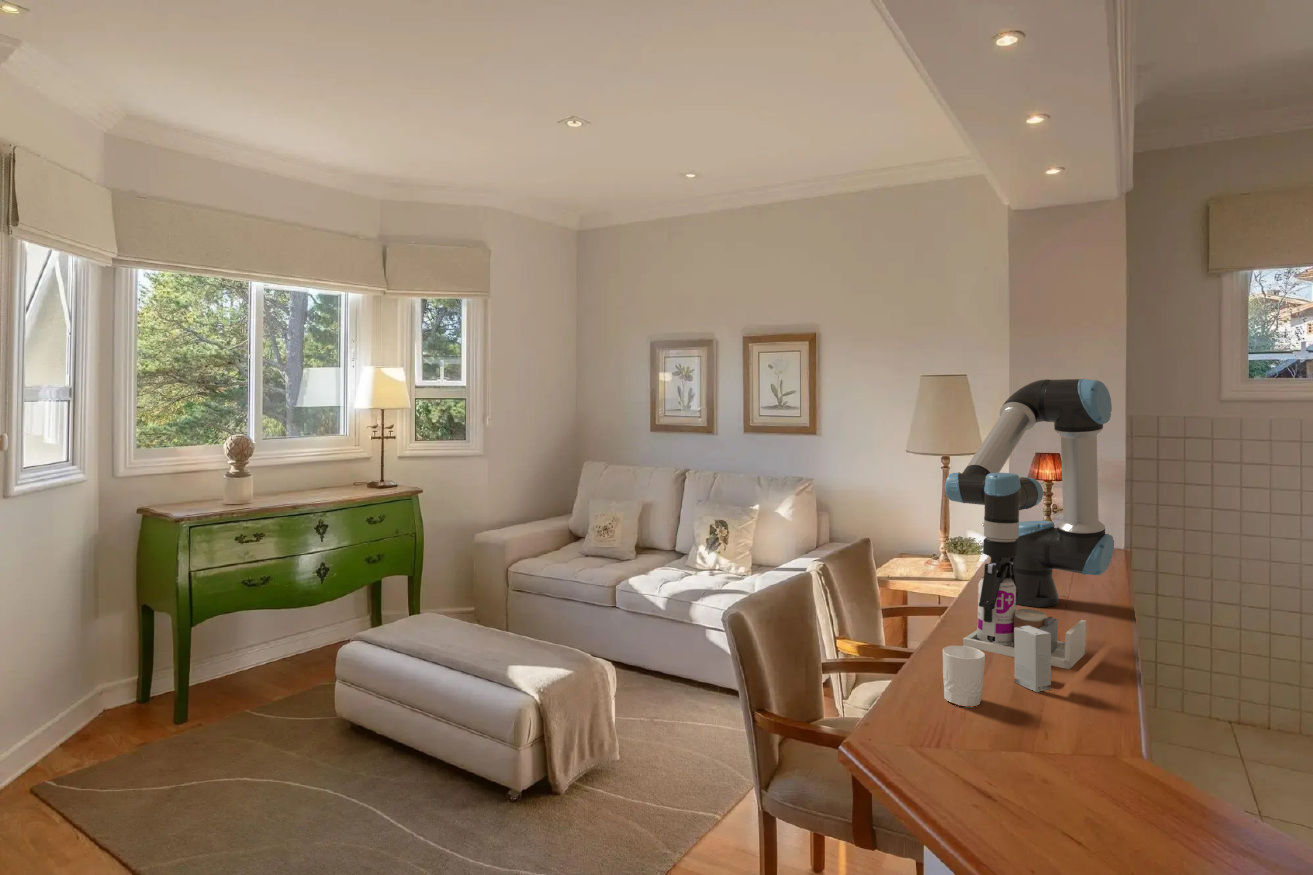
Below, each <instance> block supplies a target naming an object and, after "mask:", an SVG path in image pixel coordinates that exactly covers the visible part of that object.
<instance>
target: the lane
mask: <svg viewBox="0 0 1313 875" xmlns="http://www.w3.org/2000/svg"><path fill="white" fill-rule="evenodd" d="M1064 635H1065V636H1064V637H1065V639H1064V641H1060V640H1057V649H1056V650H1055V651H1053V652H1052V653H1051V667H1057V668H1062V669H1066V670H1071V668H1073V666H1075V665H1076V663H1078V662H1079V660H1080V659H1082V658H1083V657H1084V656H1085V655H1086V640H1087V637H1086V636H1087V620H1084V619H1081V620H1080V621H1078V622H1077V623H1076V624H1074V626H1072V627H1071V628H1070V629H1068V631H1066V632H1065V634H1064ZM962 646H967V647H972V648H976V649H978V650H981V651H985V652H989V653H992V654H998V655H1002V656H1006V657H1012V658H1015V648H1013V643H1012V644H1011V645H1008V646H1003V645H998V644H993V643H988V642H984V641H980V639H979V638H978V637H977V629H976V630H974V631H972V632H971V633H970V634H968V635H966V636H965V637H963V639H962Z"/></svg>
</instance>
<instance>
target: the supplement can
mask: <svg viewBox="0 0 1313 875" xmlns="http://www.w3.org/2000/svg"><path fill="white" fill-rule="evenodd" d="M983 579H984V575H983V576H981V579H980V580H979V581H978V585H977V587H978V588H977V589H978V590H977V621H976V622H977V623H976V626H977V628H976V630H977V637H978V638H979V639H980V641H984V642H988V643H993V644H998V645H1003V646H1008V645H1011V644H1012V643H1013V621H1014V614H1015V610H1016V605H1017V604H1016V586H1015V584H1014V582H1013V580H1012V579H1010V578H1004V580H1003V582H1002V583H1000V587H999V591H998V595H997V599H996V603H995V607H994V608H996V634H995V637H994V636H989V635H984V634H982V629H983V607H980V606H979V602H980V597H981V591H982V585H983ZM987 602H988V601H987Z"/></svg>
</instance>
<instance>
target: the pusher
mask: <svg viewBox="0 0 1313 875" xmlns="http://www.w3.org/2000/svg"><path fill="white" fill-rule="evenodd" d="M1046 618H1047V619H1045V620H1044V626H1042V627H1041V628H1040V630H1043V631H1045V632H1048V633H1051V653H1052V652H1053V651H1055V650H1056V649H1057V641H1058V627H1059V626H1058V622H1059V619H1058V618H1054V616H1050V615H1049V616H1048V617H1046Z"/></svg>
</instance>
